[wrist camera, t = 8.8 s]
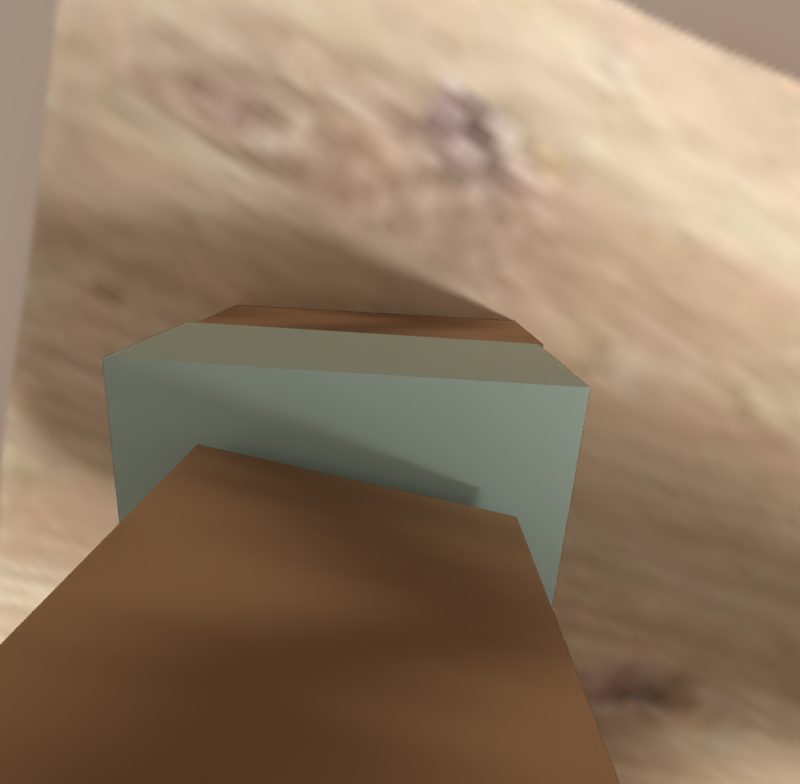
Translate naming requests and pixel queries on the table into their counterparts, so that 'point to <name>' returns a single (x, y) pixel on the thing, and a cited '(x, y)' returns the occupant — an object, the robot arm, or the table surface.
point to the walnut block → (296, 644)
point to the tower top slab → (358, 416)
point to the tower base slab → (375, 323)
